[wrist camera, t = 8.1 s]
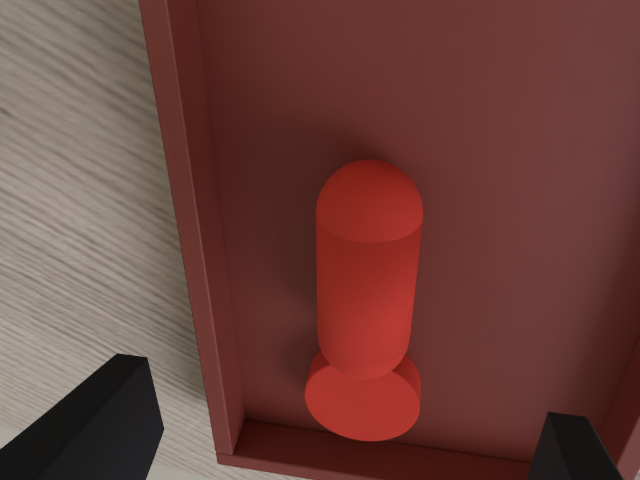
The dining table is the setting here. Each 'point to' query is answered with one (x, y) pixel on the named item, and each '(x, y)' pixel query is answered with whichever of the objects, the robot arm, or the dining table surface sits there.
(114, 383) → the robot arm
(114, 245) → the dining table surface
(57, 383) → the dining table surface
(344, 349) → the red disc-ended bar
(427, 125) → the red tray
